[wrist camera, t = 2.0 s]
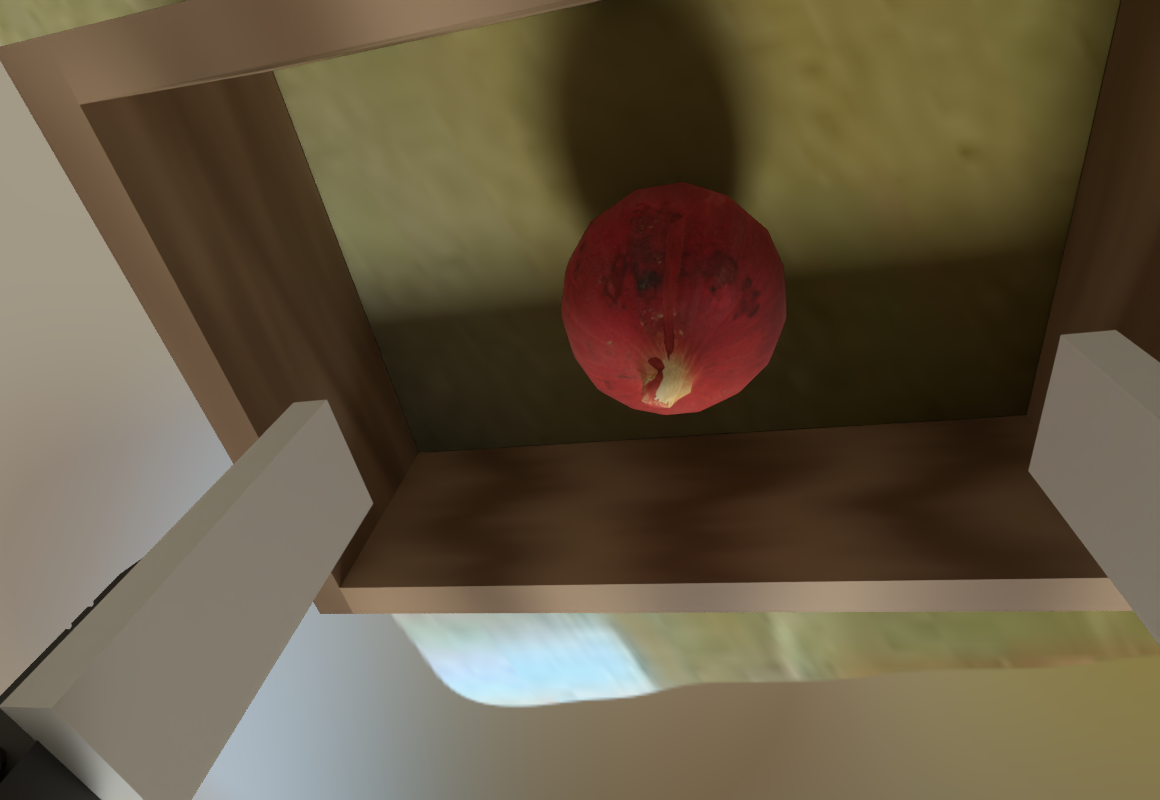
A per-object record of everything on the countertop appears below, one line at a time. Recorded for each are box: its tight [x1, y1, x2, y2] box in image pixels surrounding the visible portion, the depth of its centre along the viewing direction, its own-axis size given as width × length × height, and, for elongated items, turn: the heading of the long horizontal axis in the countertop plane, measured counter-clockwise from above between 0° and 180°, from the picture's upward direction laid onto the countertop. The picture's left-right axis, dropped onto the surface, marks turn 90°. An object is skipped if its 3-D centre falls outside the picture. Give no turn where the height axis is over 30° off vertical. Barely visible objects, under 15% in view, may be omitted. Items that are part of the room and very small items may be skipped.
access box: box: [0, 0, 1160, 614], centre depth 17 cm, size 24×16×7 cm
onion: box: [561, 182, 787, 415], centre depth 16 cm, size 6×6×8 cm
